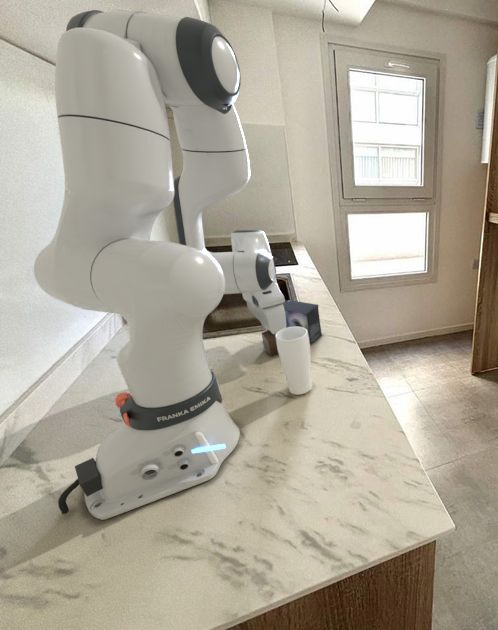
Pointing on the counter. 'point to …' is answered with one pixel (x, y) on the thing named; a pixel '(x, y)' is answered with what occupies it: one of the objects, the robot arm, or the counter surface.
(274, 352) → the walnut block
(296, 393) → the drinking glass
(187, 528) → the counter surface
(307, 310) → the small box
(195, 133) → the robot arm
